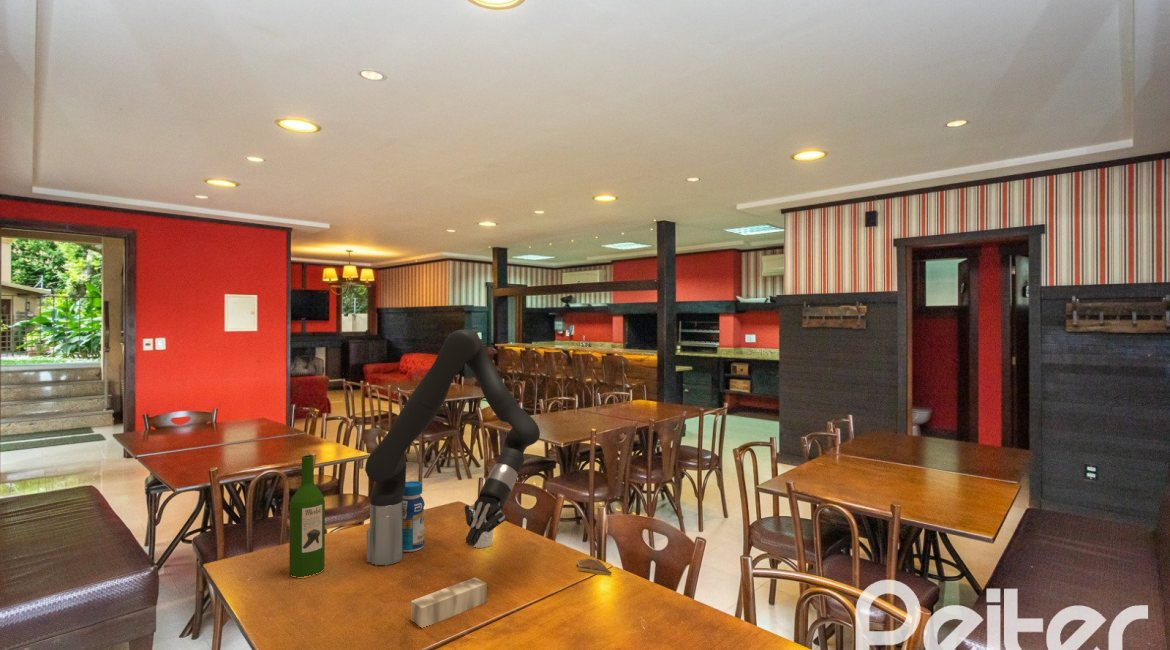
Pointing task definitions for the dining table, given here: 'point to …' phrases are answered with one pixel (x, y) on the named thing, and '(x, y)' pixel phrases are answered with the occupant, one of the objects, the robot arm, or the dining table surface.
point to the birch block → (448, 602)
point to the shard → (592, 566)
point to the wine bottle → (307, 525)
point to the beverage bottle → (413, 517)
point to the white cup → (484, 539)
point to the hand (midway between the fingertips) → (469, 544)
